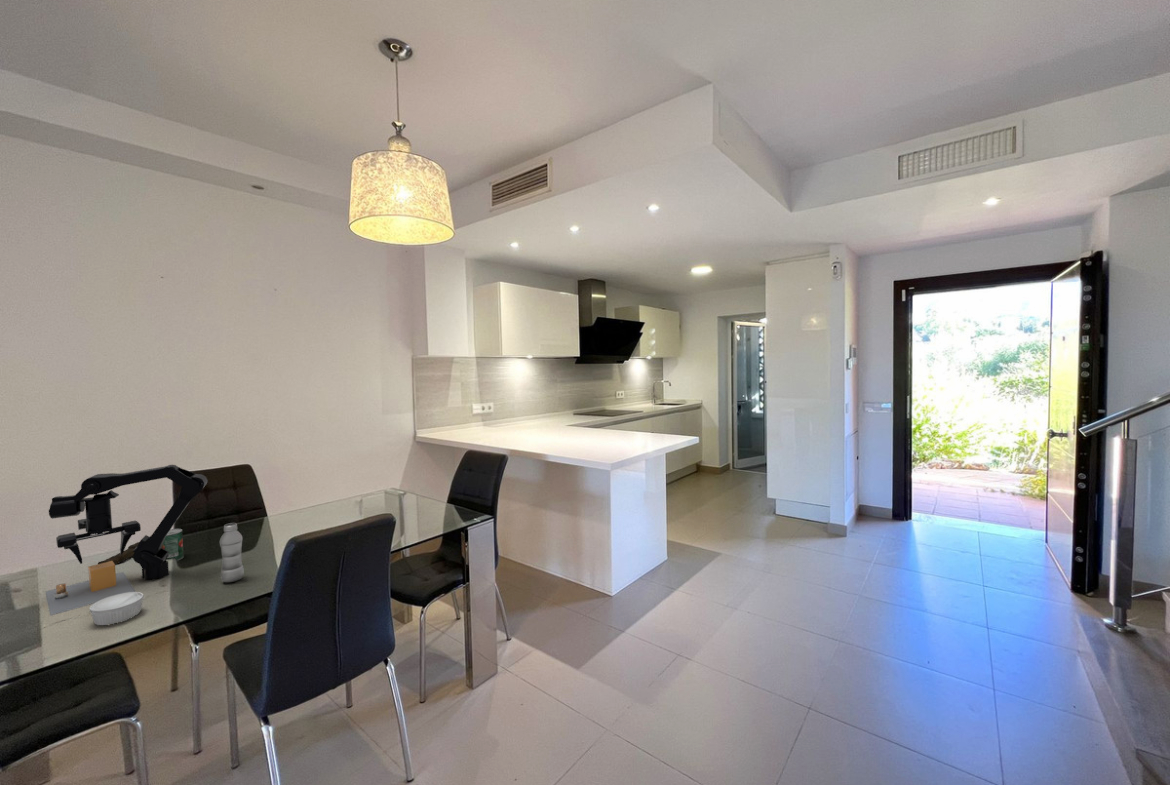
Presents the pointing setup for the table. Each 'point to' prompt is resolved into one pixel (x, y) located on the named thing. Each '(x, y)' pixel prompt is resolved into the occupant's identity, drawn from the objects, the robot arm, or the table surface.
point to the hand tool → (122, 555)
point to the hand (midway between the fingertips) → (101, 558)
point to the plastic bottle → (231, 554)
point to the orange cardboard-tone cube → (102, 576)
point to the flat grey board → (86, 595)
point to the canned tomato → (174, 544)
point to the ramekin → (116, 608)
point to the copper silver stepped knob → (61, 591)
